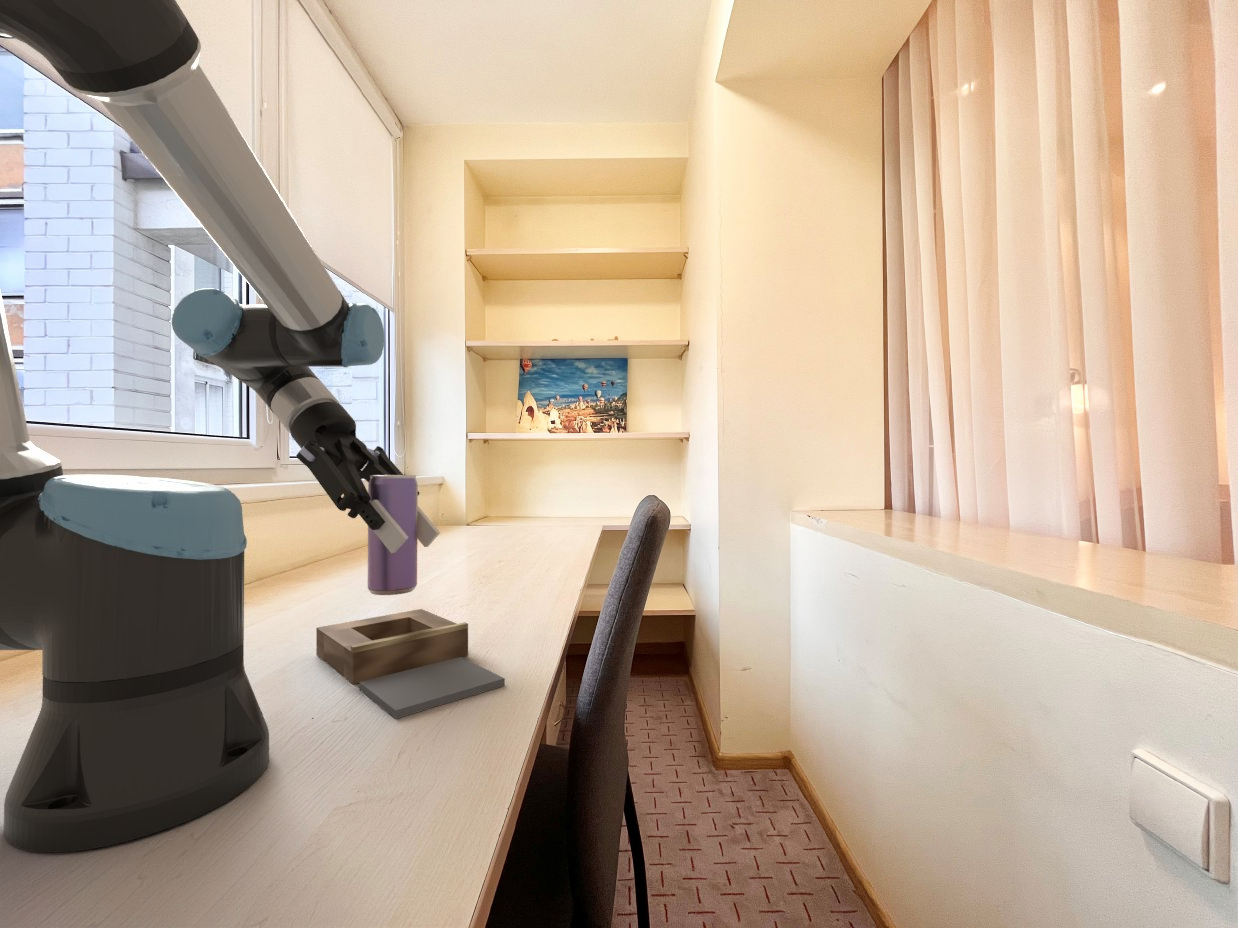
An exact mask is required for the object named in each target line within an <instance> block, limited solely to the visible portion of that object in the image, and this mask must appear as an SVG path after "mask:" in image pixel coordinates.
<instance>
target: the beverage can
mask: <svg viewBox="0 0 1238 928" xmlns="http://www.w3.org/2000/svg"><path fill="white" fill-rule="evenodd" d="M416 478H417V475H415V474H410V475H409V474H406V475H405V474H403V475H370V481H369V483H367V484H368V486H367V487H368V488H367V489H368V490H367V492H368V494H369V496H370V498H371V500H370V501H369V502H370V503H371V502H372V501H373V500H378V501H379V502H380V503H381V504H382V506H383V507H384V508H385V509H386V510H387V512H388V513H389V514H390V515H391V517H392V518H393V519H394V520H395V521H396V523H397V524H398V525H399V526H400V528H401V529H402V530H403V531H404V532H405V534H406V535H407V536H408V537H409V538H408V539H407V540H406V541H405V542H404V543H403V545H402V546H401V547H400V548H399V549H398V550H397V551H396V553H391V552H390V551H389V550H388V549H387V547H386V546H385V545H384V544H383V542H382V541H381V540H380V539H379V537H378V536H377V535H376V534H375V532H374V531H373V530H372V529H371V528H369V526H368V525H367V589H368V591H369V593H371V594H373V595H375V596H394V595H395V596H396V595H402V594H408V593H411V592H413V591H414V590H415V589H416V588H417V585H418V538H417V513H418V506H419V505H418V503H419V502H418V501H419V500H418V497H419V495H418V492H419V489H418V487H419V486H418V484H419V483H418V481H417V479H416Z"/></svg>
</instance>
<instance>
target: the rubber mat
mask: <svg viewBox="0 0 1238 928" xmlns="http://www.w3.org/2000/svg"><path fill="white" fill-rule="evenodd" d="M505 680H506V679H505V677H503V676H501V675H499V674H497V673H495V672H492V671H491V670H489V669H487V668H485V667H483V666H481V665H479V664H477V663H474V662H473V661H472V660H470V659H466V658H464V657H458V658H454V659H450V660H446V661H442V662H438V663H434V664H430V665H426V666H422V667H418V668H414V669H410V670H406V671H402V672H398V673H394V674H390V675H386V676H382V677H378V678H374V679H370V680H366V681H362V682H359V683H358V684H359V686H358V689H359V691H361V692H362V693H363V694H364V695H365V696H367V697H368V698H369V699H370V700H371V701H373V702H375V703H376V704H377V705H378V706H379V707H380V708H381V709H383V710H384V711H385V712H387V713H388V714H389V715H390V716H392V718H394V719H399V718H404V717H405V716H409V715H413V714H416V713H419V712H423V711H425V710H426V711H427V710H429V709H432V708H436V707H439V706H441V705H445V704H449V703H452V702H455V701H459V700H462V699H465V698H468V697H471V696H474V695H479V694H481V693H484V692H488V691H491V690H495V689H497V688H501V687H504V686H506V685H505Z"/></svg>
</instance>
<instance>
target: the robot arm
mask: <svg viewBox="0 0 1238 928" xmlns="http://www.w3.org/2000/svg"><path fill="white" fill-rule="evenodd" d="M1 39H3V40H5V39H8V40H9V39H15V40H17V41H19V42H22V43H25V44H26V45H28V46H29V47H30V48H31V49H33V50H35V51H36V52H38V53H39V54H40V55H41V56H42V57H44V59H46V60H47V61H48V62H49V64H50V65H51V66H52V68H54V70H55V71H56V72H57V74H58V75H59V76H60V77H61V78H62V79H63V80H64V82H65V83H66V84H67V85H68V87H70V89H72V90H73V91H75V92H77V93H79V94H82V95H85V96H88V97H91V98H95V99H97V100H99V101H100V103H102V105H103V107H104V108H105V109H106V110H107V111H108V112H109V114H110V115H111V117H113V119H114V120H115V121H116V122H117V123H118V125H119V126H120V127H121V129H122V130H123V131H124V132H125V133H126V135H127V136H128V138H130V140H132V143H134V144H135V145H136V147H137V148H138V149H139V151H140V152H141V153H142V155H144V157H145V158H146V160H148V161H149V163H150V164H151V166H152V167H153V169H155V171H156V172H157V173H158V174H159V175H160V177H161V178H162V179H163V180H164V182H165V183H166V184H167V185H168V186H169V187H170V189H171V190H172V191H173V193H174V195H176V196H177V198H178V199H179V200H180V201H181V202H182V204H183V205H184V206H185V207H186V208H187V210H188V211H189V212H190V213H191V215H192V216H193V218H195V219H196V221H197V222H198V223H199V224H200V226H201V227H202V228H203V230H205V232H206V233H207V234H208V236H209V237H210V238H211V240H213V242H214V243H215V245H216V246H217V247H218V248H219V250H220V251H222V253H223V254H224V255H225V256H226V258H227V259H228V260H229V261H230V263H231V264H232V265H233V267H234V268H235V269H236V271H238V273H239V274H240V276H242V278H243V279H244V280H245V281H246V282H247V283H248V285H249V286H250V287H251V288H252V290H253V291H254V292H255V294H256V295H257V296H258V297H259V298H260V299H261V302H263V304H241V303H240V302H239V301H238V299H236V298H234V297H233V296H231V295H229V294H227V293H226V292H225V291H223V290H220V289H218V288H217V289H216V288H212V287H211V288H209V287H205V288H199V289H196V290H193V291H191V292H189V293H188V294H186V295H185V296H184V297H182V298H181V299H180V300H179V301H178V303H177V304H176V305H175V307H174V309H173V314H172V317H171V327H172V330H173V333H174V334H175V336H176V337H177V338H178V339H179V340H181V341H182V342H183V343H184V344H185V345H187V346H188V347H189V348H191V349H192V350H193V352H194V353H196V355H198V356H200V357H202V358H204V359H205V360H208V361H209V362H211V363H213V365H216V366H217V367H219V368H221V369H222V370H224V371H225V372H227V373H229V375H232V376H233V377H234V378H235V379H237V380H238V381H240V382H241V383H243V384H245V385H246V386H247V387H249V388H250V389H252V390H253V391H254V392H255V393H256V395H258V396H259V397H260V399H261V400H262V401H263V402H264V403H265V405H266V406H267V407H268V408H269V410H270V411H271V412H272V413H273V414H274V416H275V417H276V418H277V419H278V421H279V422H280V423H281V424H282V425H283V427H284V428H285V430H286V431H287V432H288V434H290V437H291V438H292V439H293V440H294V441H295V442H296V444H297V445H298V447H299V448H300V450H299V451H298V452H297V454H296V456H295V457H296V458H297V459H298V460H299V461H300V462H301V463H302V464H304V466H305V467H307V468H308V469H309V471H310V472H311V474H312V475H313V477H314V478H315V480H317V482H318V483H319V485H320V486H321V487H322V489H323V491H324V492H325V493H326V494H327V496H328V497H329V499H330V500H331V501H332V503H333V504H334V505H335V507H336V508H337V509H338V510H339V511H341V512H345V511H346V510H347V509H348V510H349V511H348V513H347V516H348V517H350V518H351V519H356V518H357V516H360V518H361V519H362V520H363V522H364V523H365V524H366V525H367V527H368V526H369V528H371V529H372V530H373V531H374V532H375V534H376V535H377V536H378V537H379V539H380V540H381V541H382V542H383V544H384V545H385V546H386V547H387V549H388V550H389V551H390V552H391V553H396V551H397V550H398V549H399V548H400V547H401V546H402V545H403V543H404V542H405V541H406V540H407V539H408V538H409V537H408V536H407V535H406V534H405V532H404V531H403V530H402V529H401V528H400V526H399V525H398V524H397V523H396V521H395V520H394V519H393V518H392V517H391V515H390V514H389V513H388V512H387V510H386V509H385V508H384V507H383V506H382V504H381V503H380V502H379V501H378V500H373V501H372V502H371V503H370V502H369V501H370V500H371V498H370V496H369V494H368V490H367V488H366V486H365V484H364V481H366V482H367V484H369V481H370V475H404V474H403V472H402V471H401V470H400V469H399V468H398V467H397V465H395V464H394V462H393V461H391V459H390V458H389V457H388V455H387V453H386V451H385V450H384V448H383V447H381V446H379V445H377V446H375V448H374V449H371V448H368V446H367V445H366V444H365V443H364V442H363V441H361V440H360V439H359V438H358V437H357V433H356V432H357V423H356V422H355V419H354V418H353V417H352V416H351V415H350V414H349V412H348V411H347V410H346V409H345V408H344V406H343V405H341V404H340V401H339V400H338V399H337V398H336V396H334V394H332V392H331V390H329V388H328V387H327V386H326V385H325V384H324V383H323V382H322V380H320V378H318V377H317V375H316V374H315V373H314V372H313V370H312V369H311V367H313V368H314V367H320V368H321V367H322V368H323V367H324V368H326V367H328V368H329V367H330V368H331V367H332V368H334V367H336V368H339V367H340V368H341V367H342V368H348V367H354V366H355V367H357V366H370V365H373V364H375V363H377V362H378V361H379V360H380V358H381V357H382V355H383V351H384V347H385V330H384V325H383V321H382V318H381V316H380V314H379V313H378V311H377V310H376V308H374V307H373V306H372V305H369V304H367V303H360V302H358V303H357V302H356V301H352V302H350V303H348V302H347V299H346V298H345V297H344V295H343V294H342V292H341V290H339V288H338V286H337V285H336V283H335V281H334V280H333V279H332V277H331V274H329V272H328V270H327V269H326V267H325V266H324V263H322V261H321V259H320V257H319V256H318V254H317V253H316V251H315V249H314V248H313V246H312V244H311V243H310V241H309V240H308V239H307V236H306V235H305V233H304V232H303V230H302V229H301V227H300V225H299V223H298V222H297V220H296V219H295V217H294V216H293V214H292V212H291V211H290V209H289V208H288V206H287V205H286V203H285V201H284V199H283V198H282V196H281V195H280V193H279V191H278V190H277V189H276V187H275V185H274V184H273V182H272V180H271V179H270V177H269V176H268V173H267V172H266V170H265V169H264V167H263V166H262V164H261V162H260V161H259V159H258V157H257V156H256V154H255V153H254V151H253V149H252V148H251V146H250V145H249V143H248V141H247V140H246V139H245V136H244V135H243V133H242V132H241V130H240V129H239V127H238V125H237V123H236V122H235V120H234V119H233V117H232V115H231V114H230V112H229V111H228V109H227V108H226V106H225V104H224V103H223V102H222V100H221V98H220V96H219V95H218V93H217V91H216V89H215V88H214V87H213V85H212V83H211V81H210V80H209V78H208V77H207V76H206V74H205V72H204V71H203V68H202V67H201V66H200V64H199V59H200V58H199V57H200V54H201V49H202V44H201V40H200V39H199V37H198V35H197V33H196V32H195V30H194V28H193V27H192V25H191V23H190V22H189V20H188V18H187V17H186V14H185V13H184V12H183V11H182V9H181V7H180V6H179V4H178V2H177V0H0V40H1ZM3 301H4V300H3V297H2V292H1V290H0V651H41V650H42V651H41V652H42V654H41V655H42V659H41V660H42V664H41V665H42V669H41V671H42V673H41V674H42V697H41V698H42V702H41V709H40V712H39V713H38V717H37V719H36V721H35V723H34V726H33V728H32V730H31V732H30V735H29V738H28V740H27V743H26V745H25V747H24V750H23V752H22V755H21V756H20V757H21V758H20V760H19V762H18V765H17V767H16V769H15V772H14V774H13V776H12V779H11V782H10V784H9V786H8V789H7V791H6V793H5V798H4V802H3V803H4V804H3V806H4V807H3V815H4V816H3V834H4V839H5V840H6V841H7V842H8V843H9V844H10V845H11V846H14V847H15V848H18V849H21V850H24V851H29V852H35V853H37V852H38V853H64V852H66V853H67V852H77V851H85V850H91V849H92V850H93V849H96V848H102V847H107V846H108V847H109V846H112V845H116V844H121V843H125V842H128V841H132V840H136V839H140V838H143V837H146V836H150V835H152V834H156V833H159V832H162V831H165V830H167V829H170V828H173V827H175V826H178V825H180V824H183V823H185V822H188V821H191V820H192V819H195V818H197V817H199V816H201V815H204V814H206V813H207V812H210V811H213V810H214V809H216V808H218V807H219V806H221V805H223V804H224V803H227V802H228V801H230V800H232V799H233V798H234V797H236V796H238V795H239V794H241V793H242V792H244V791H245V790H247V789H248V788H249V787H250V786H251V785H252V784H254V783H255V782H256V781H257V780H258V779H259V778H260V777H261V776H262V774H263V773H264V771H265V770H266V769H267V767H268V765H269V763H270V732H269V727H268V725H267V724H268V723H267V722H266V720H265V717H264V715H263V712H262V709H261V706H260V705H259V703H258V700H257V697H256V695H255V692H254V690H253V687H252V685H251V683H250V679H249V678H248V675H247V673H246V669H245V662H244V661H245V660H244V656H245V655H244V654H245V653H244V647H245V646H244V640H245V638H244V637H245V550H246V549H247V546H248V545H247V543H248V542H247V536H246V534H245V530H244V527H245V525H244V517H243V516H244V515H243V507H242V503H241V500H240V499H239V498H238V496H237V494H235V493H233V492H232V491H231V490H229V489H228V488H226V487H224V486H221V485H216V484H212V483H206V482H202V481H201V482H200V481H192V480H186V479H176V478H166V477H156V476H155V477H149V476H148V477H146V476H137V475H136V476H135V475H121V474H66V475H64V471H63V465H62V462H61V459H59V458H57V457H55V456H53V455H52V454H49V453H48V452H46V451H44V450H42V449H41V448H39V447H37V446H35V444H34V443H32V442H31V440H30V435H29V430H28V426H27V425H28V424H27V420H26V415H25V410H24V405H23V400H22V395H21V388H20V383H19V378H18V374H17V373H18V372H17V368H16V365H15V358H14V354H13V349H12V348H13V347H12V344H11V338H10V333H9V329H8V323H7V317H6V313H5V307H4V302H3ZM362 479H364V481H363V480H362ZM419 495H420V492H419V491H418V496H419ZM440 534H441V531H440V530H439V529H438V528H437V527H436V526H435V524H434V523H433V522H432V521H431V520H430V518H429V517H428V516H427V515H426V514H425V512H424V511H423V510H422V509H421V508H420V506H419V505H418V513H417V541H419V543H420V544H421V545H422V546H423V547H424V548H429V547H430V545H431V544H432V543H433V542H434V540H435V539H437V537H438V536H439V535H440Z"/></svg>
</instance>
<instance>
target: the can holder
mask: <svg viewBox="0 0 1238 928" xmlns="http://www.w3.org/2000/svg"><path fill="white" fill-rule="evenodd" d="M315 628H316V629H315V630H316V632H315V633H316V636H315V637H316V639H315V640H316V643H315V645H316V656H317V657H319V658H320V659H321V660H322V661H324V662H325V663H326V665H329V666H330V667H331V668H332V669H333V670H334V671H336V672H337V673H338V674H339V675H341V676H342V677H344V678H345V679H346V680H347V681H348V682H349V683H351V684H352V685H357V684H359V682H362V681H366V680H370V679H374V678H378V677H382V676H386V675H390V674H394V673H398V672H402V671H406V670H410V669H414V668H418V667H422V666H426V665H430V664H434V663H438V662H442V661H446V660H450V659H454V658H458V657H463V658H464V657H468V656H469V623H468V622H461V623H460V622H459V623H456V622H454V621H451V620H449V619H446V618H444V617H442V616H439V615H437V614H434V613H432V612H429V611H427V610H425V609H422V608H419V609H413V610H408V611H403V612H402V611H401V612H397V613H392V614H385V615H379V616H375V617H369V618H363V619H358V620H357V619H356V620H353V621H345V622H340V623H336V624H329V625H324V626H319V627H315Z"/></svg>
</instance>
